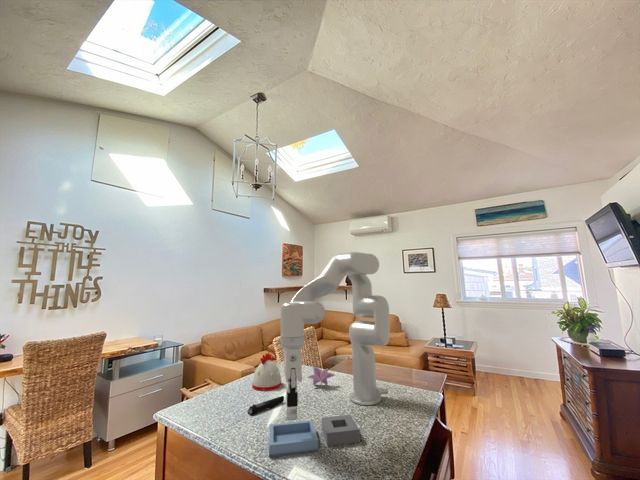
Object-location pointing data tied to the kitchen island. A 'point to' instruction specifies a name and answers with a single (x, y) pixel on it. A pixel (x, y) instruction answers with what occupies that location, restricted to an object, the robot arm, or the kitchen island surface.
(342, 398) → the kitchen island surface
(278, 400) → the electric trimmer
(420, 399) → the kitchen island surface
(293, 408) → the white rounded cylinder piece
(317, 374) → the lily
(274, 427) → the parts tray
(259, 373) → the knit hat
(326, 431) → the gray square hole block
